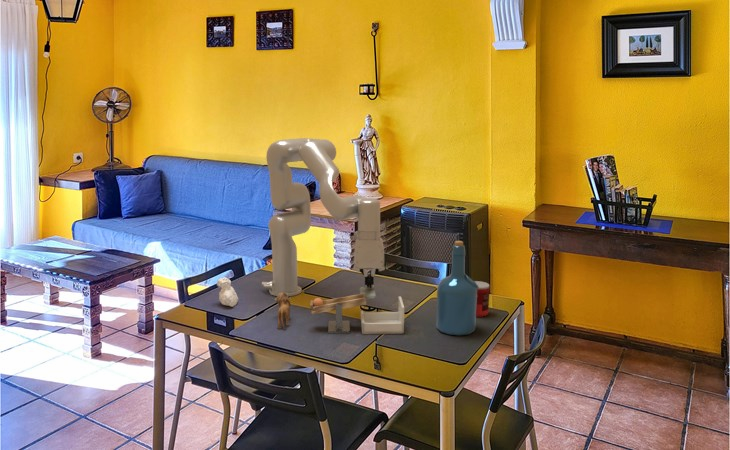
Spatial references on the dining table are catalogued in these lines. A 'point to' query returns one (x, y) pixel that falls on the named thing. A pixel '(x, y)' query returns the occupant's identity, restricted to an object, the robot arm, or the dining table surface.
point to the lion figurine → (283, 308)
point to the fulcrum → (338, 322)
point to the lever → (345, 301)
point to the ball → (317, 302)
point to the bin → (383, 321)
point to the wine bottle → (457, 297)
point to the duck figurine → (227, 292)
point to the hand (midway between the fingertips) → (369, 286)
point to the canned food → (482, 299)
